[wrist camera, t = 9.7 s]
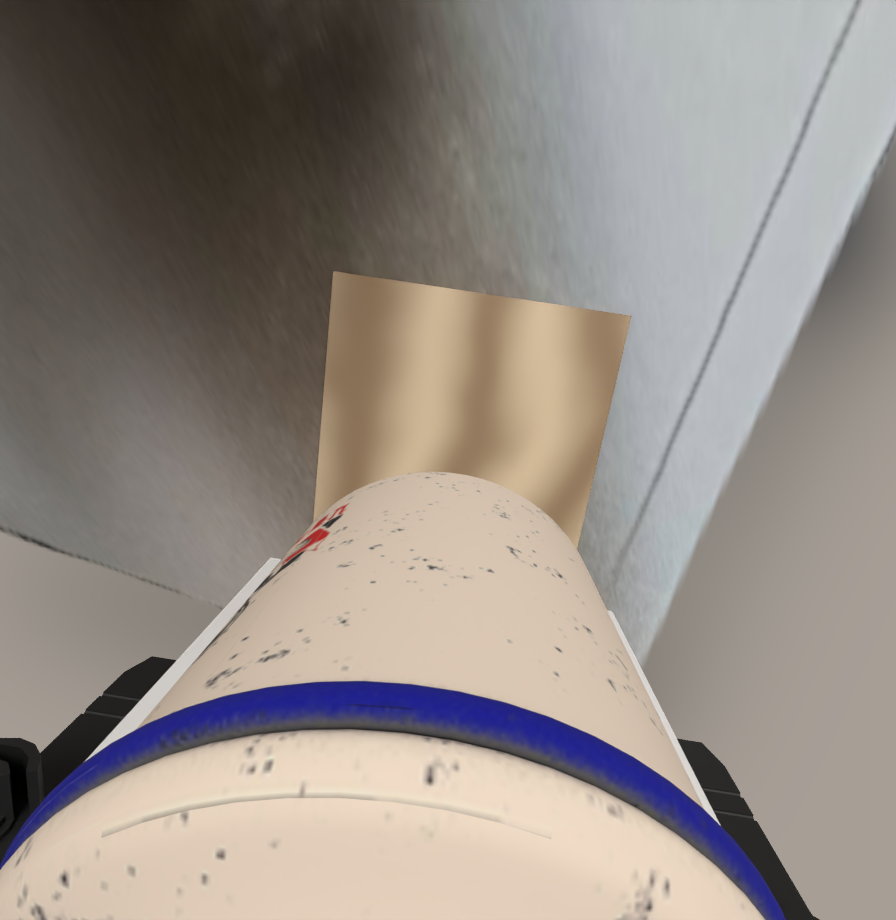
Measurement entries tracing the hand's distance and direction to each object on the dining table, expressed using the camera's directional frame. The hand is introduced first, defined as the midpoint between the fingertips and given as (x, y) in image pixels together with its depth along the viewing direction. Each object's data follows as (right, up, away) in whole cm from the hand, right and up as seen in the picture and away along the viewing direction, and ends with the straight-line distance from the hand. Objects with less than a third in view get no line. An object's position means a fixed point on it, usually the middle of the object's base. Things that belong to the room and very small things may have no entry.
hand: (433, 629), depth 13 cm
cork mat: (+1, +4, +17) cm, 18 cm away
